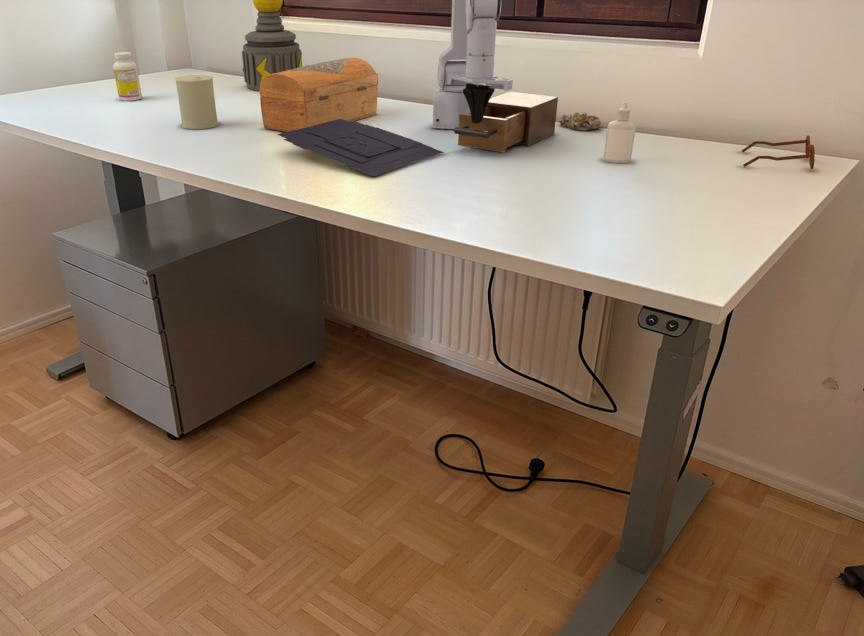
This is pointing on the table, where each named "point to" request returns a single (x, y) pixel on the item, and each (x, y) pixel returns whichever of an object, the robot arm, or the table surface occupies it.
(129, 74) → the supplement bottle
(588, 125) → the mineral rock
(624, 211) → the table surface
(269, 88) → the wooden box
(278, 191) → the table surface
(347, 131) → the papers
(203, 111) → the can
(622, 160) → the eye dropper bottle
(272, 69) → the decorative lamp
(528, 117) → the cabinet
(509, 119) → the drawer
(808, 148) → the glasses
